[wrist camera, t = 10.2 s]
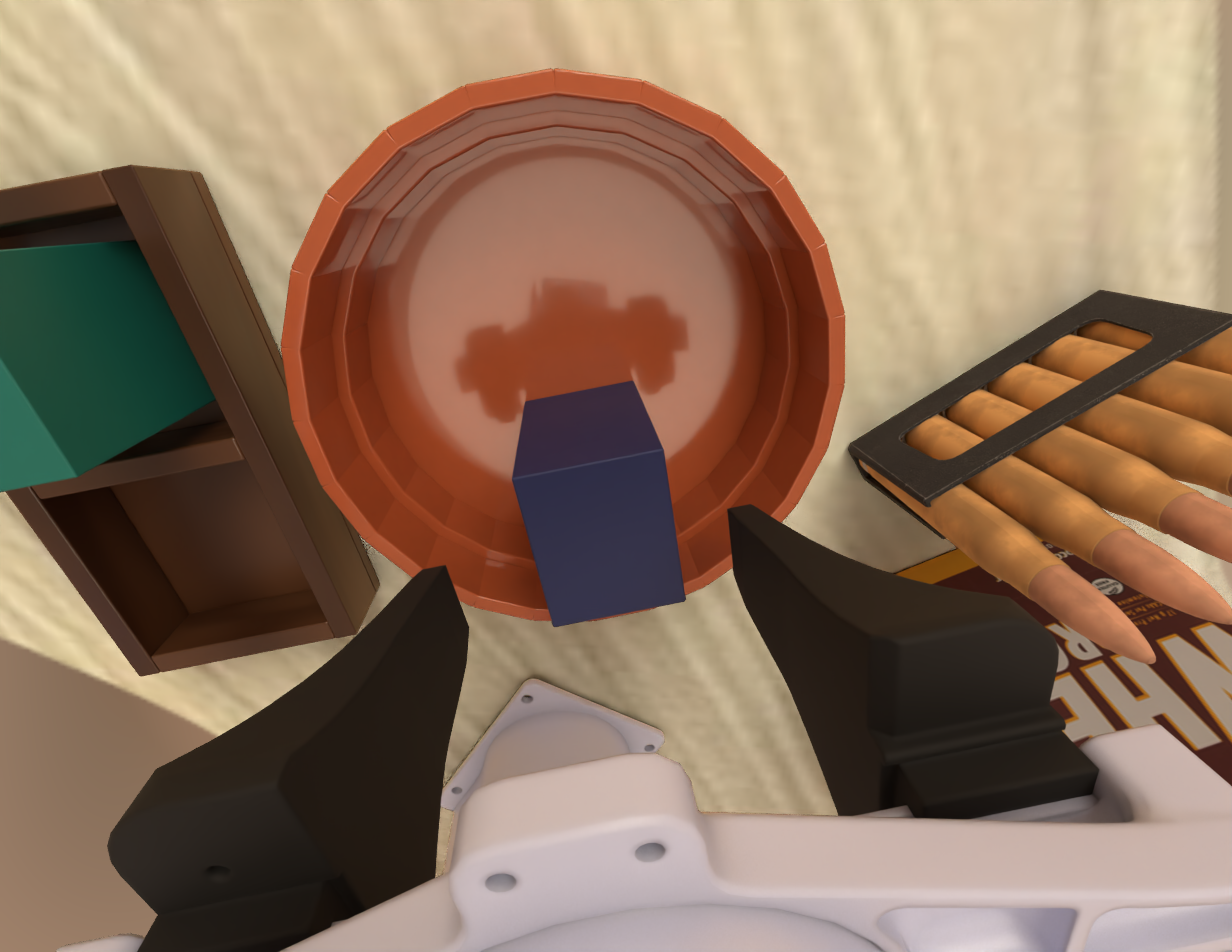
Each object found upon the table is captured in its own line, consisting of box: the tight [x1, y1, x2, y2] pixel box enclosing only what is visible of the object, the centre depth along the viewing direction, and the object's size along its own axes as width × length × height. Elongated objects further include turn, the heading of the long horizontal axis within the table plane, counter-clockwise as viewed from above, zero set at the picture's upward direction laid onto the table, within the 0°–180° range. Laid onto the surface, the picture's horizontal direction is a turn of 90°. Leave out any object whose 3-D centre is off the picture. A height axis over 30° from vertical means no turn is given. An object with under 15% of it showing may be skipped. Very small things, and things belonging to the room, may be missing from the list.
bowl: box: [281, 68, 845, 621], centre depth 18 cm, size 15×15×5 cm
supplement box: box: [895, 535, 1232, 786], centre depth 22 cm, size 10×15×16 cm
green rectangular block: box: [0, 240, 216, 492], centre depth 15 cm, size 4×5×6 cm
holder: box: [0, 165, 380, 676], centre depth 19 cm, size 8×15×3 cm, turn 10°
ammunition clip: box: [848, 290, 1232, 664], centre depth 17 cm, size 11×2×12 cm, turn 124°
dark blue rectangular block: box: [512, 381, 686, 627], centre depth 19 cm, size 4×5×6 cm
